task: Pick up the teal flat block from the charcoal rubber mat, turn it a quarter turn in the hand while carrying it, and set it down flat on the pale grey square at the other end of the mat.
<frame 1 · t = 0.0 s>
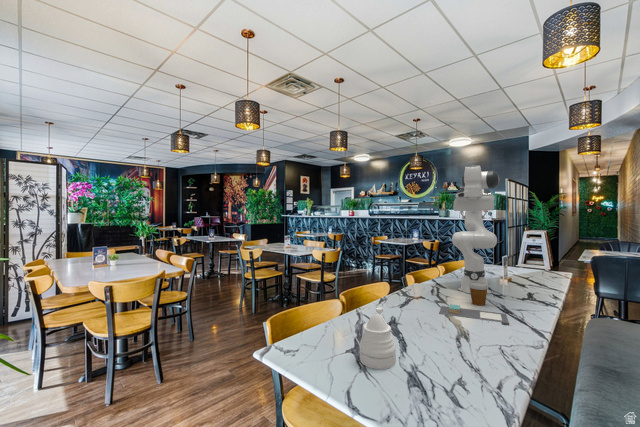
hand: (473, 219, 165), 48 cm above the table, tool pointing down, fingers open, 8 cm apart
disposable coffee cup: (478, 306, 165), on the table
rubber mat: (472, 315, 150), on the table
honey pot: (377, 360, 108), on the table
teal flat block: (454, 311, 153), point 1 cm above the table, touching rubber mat
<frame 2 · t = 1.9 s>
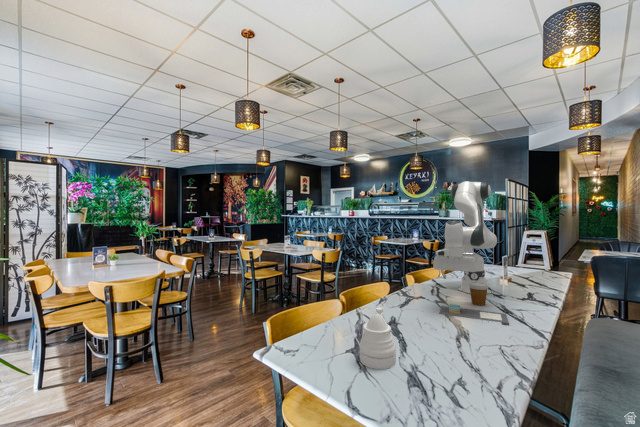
hand: (454, 279, 153), 18 cm above the table, tool pointing down, fingers open, 8 cm apart
nothing on the table moved.
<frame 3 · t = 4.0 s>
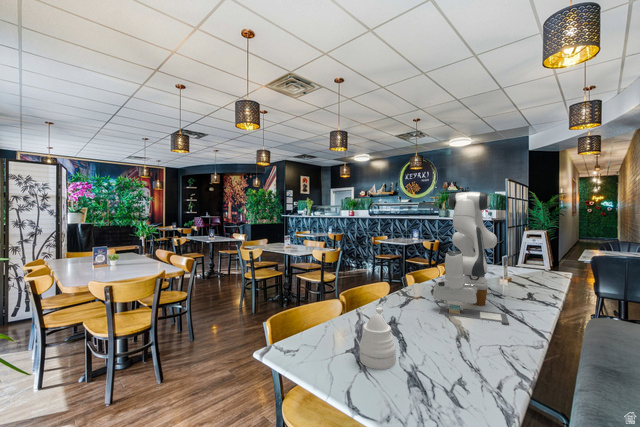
hand: (454, 309, 153), 2 cm above the table, tool pointing down, fingers closed on teal flat block, 5 cm apart
teal flat block: (454, 311, 153), point 1 cm above the table, touching gripper, rubber mat
everything else where it was.
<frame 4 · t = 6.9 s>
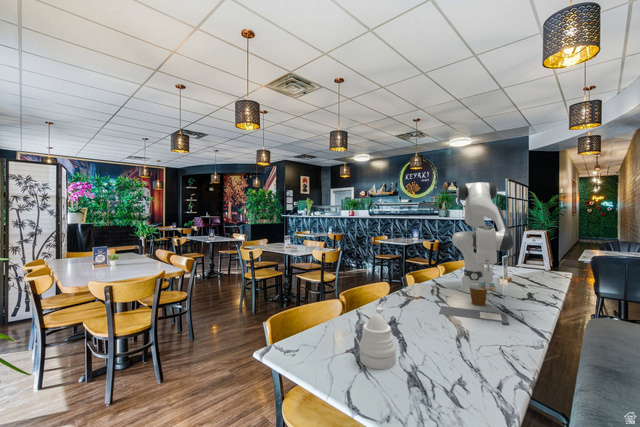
hand: (486, 287, 147), 15 cm above the table, tool pointing down, fingers closed on teal flat block, 5 cm apart
teal flat block: (486, 288, 147), point 14 cm above the table, touching gripper
everything else where it was.
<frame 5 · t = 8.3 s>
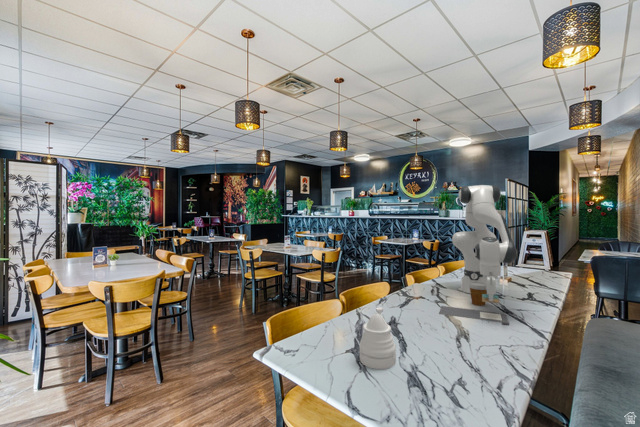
hand: (490, 299, 146), 9 cm above the table, tool pointing down, fingers closed on teal flat block, 5 cm apart
teal flat block: (490, 301, 146), point 8 cm above the table, touching gripper
everything else where it was.
when the fingers open (4 cm above the table, at t = 9.7 s): teal flat block drops 2 cm, resting on rubber mat.
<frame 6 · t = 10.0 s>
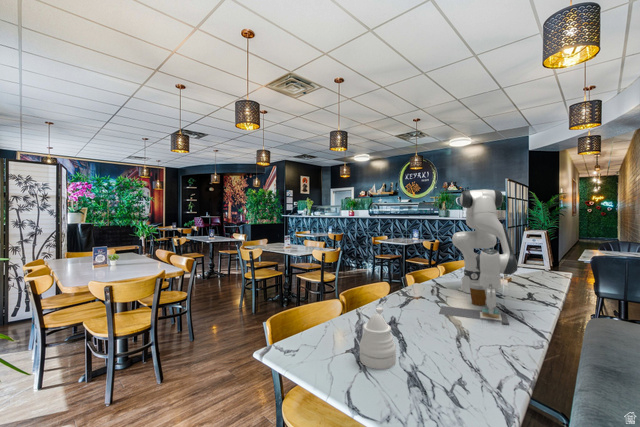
hand: (490, 310, 146), 4 cm above the table, tool pointing down, fingers open, 8 cm apart
teal flat block: (490, 315, 146), point 1 cm above the table, touching rubber mat
everything else where it was.
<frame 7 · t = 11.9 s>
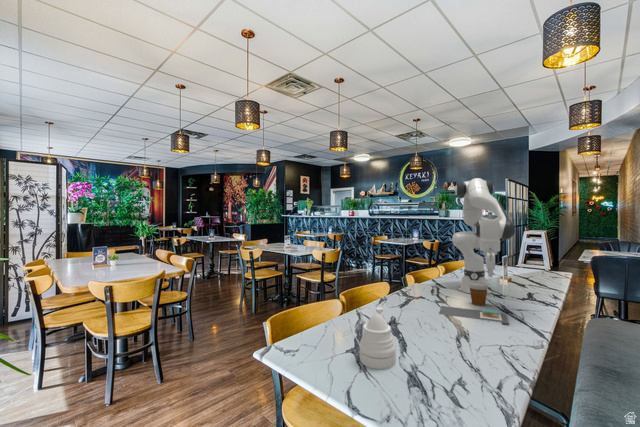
hand: (489, 274, 150), 20 cm above the table, tool pointing down, fingers open, 8 cm apart
nothing on the table moved.
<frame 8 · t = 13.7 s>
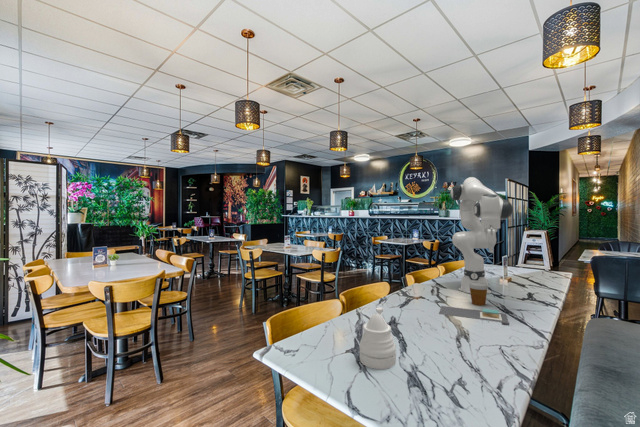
hand: (490, 251, 157), 31 cm above the table, tool pointing down, fingers open, 8 cm apart
nothing on the table moved.
at the end: teal flat block inside the target area on the rubber mat (0.1 cm from its centre), point 1.1 cm above the rubber mat's base; teal flat block tilted 0°; the gripper is holding nothing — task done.
